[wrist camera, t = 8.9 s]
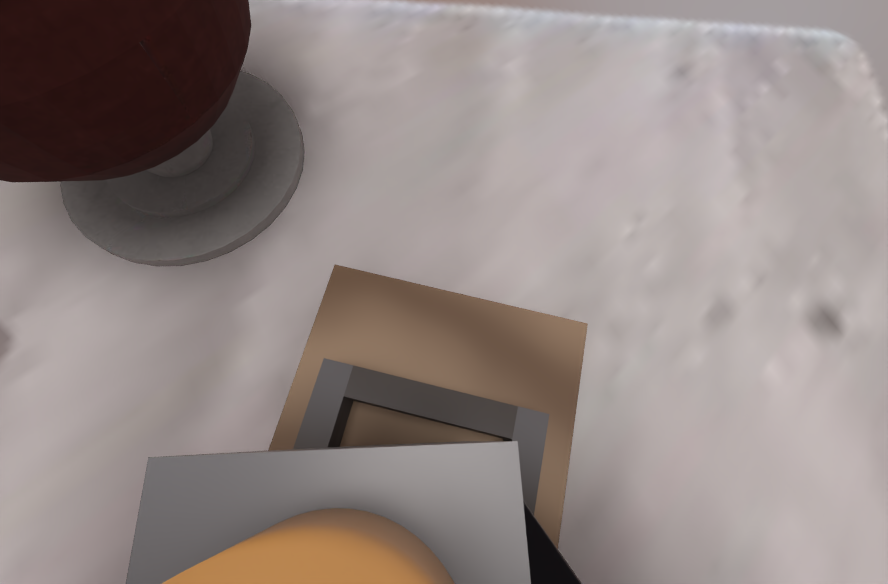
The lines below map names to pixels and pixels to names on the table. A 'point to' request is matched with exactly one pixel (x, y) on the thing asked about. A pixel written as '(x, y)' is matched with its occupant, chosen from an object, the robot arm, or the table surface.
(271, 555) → the connector plug
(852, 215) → the table surface
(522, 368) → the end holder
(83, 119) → the mate gourd
